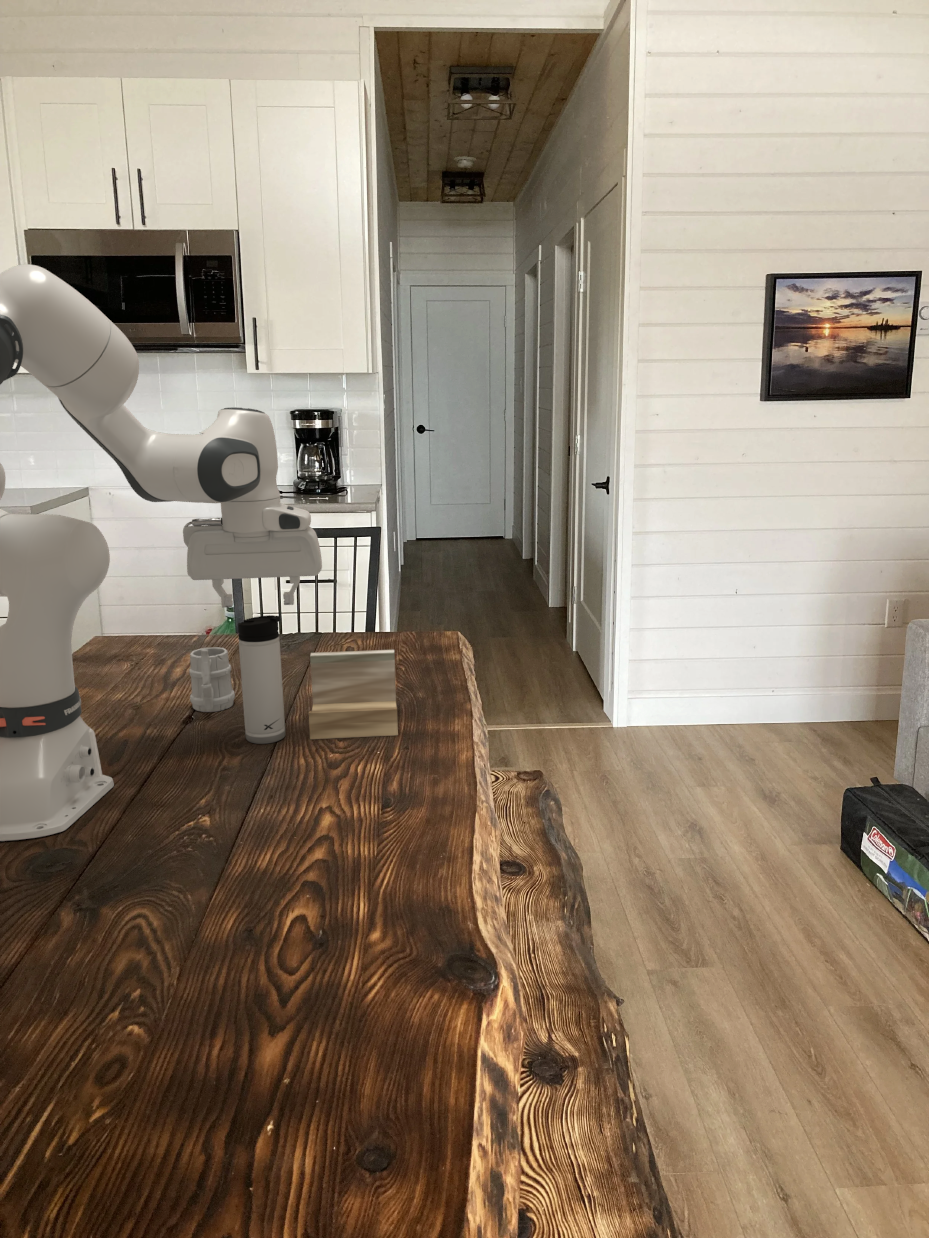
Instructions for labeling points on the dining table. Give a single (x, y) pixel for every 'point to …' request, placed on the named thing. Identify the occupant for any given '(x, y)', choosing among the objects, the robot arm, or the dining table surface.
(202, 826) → the dining table surface
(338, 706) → the wooden l bracket
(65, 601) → the robot arm
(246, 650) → the travel mug
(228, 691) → the mug
